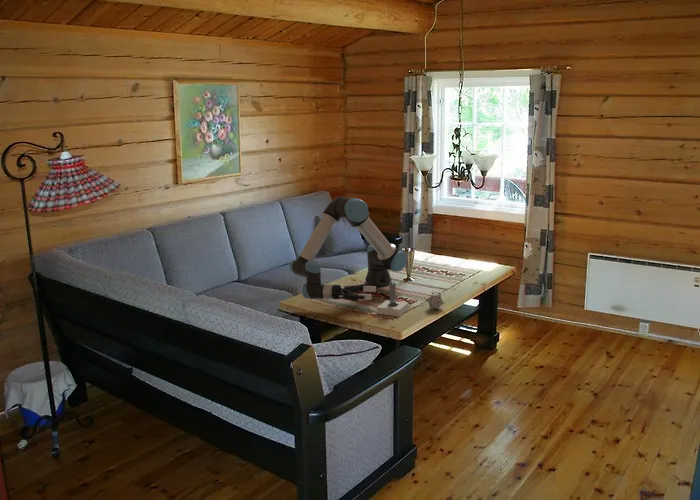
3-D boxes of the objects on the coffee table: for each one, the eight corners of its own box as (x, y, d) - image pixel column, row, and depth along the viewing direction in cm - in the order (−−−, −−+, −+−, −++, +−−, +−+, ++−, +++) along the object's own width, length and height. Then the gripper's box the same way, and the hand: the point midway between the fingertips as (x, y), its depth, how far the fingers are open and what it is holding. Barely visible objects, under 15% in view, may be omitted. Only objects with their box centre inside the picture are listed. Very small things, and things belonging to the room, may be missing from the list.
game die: (439, 315, 346) (451, 300, 342) (429, 314, 339) (442, 299, 336) (428, 303, 351) (440, 289, 348) (419, 302, 344) (431, 287, 341)
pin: (391, 310, 345) (390, 281, 342) (397, 310, 344) (396, 282, 340) (388, 312, 342) (388, 283, 339) (394, 312, 341) (394, 284, 337)
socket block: (387, 306, 351) (386, 300, 350) (408, 309, 346) (408, 302, 345) (377, 313, 340) (377, 307, 340) (399, 316, 335) (399, 309, 334)
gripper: (338, 291, 360) (377, 292, 355) (327, 306, 336) (369, 307, 332) (337, 278, 358) (377, 278, 354) (326, 292, 334) (369, 293, 330)
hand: (373, 292), depth 343 cm, fingers open, 13 cm apart
